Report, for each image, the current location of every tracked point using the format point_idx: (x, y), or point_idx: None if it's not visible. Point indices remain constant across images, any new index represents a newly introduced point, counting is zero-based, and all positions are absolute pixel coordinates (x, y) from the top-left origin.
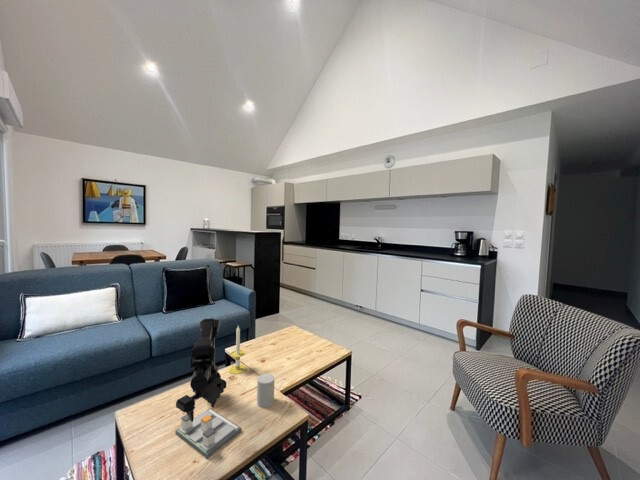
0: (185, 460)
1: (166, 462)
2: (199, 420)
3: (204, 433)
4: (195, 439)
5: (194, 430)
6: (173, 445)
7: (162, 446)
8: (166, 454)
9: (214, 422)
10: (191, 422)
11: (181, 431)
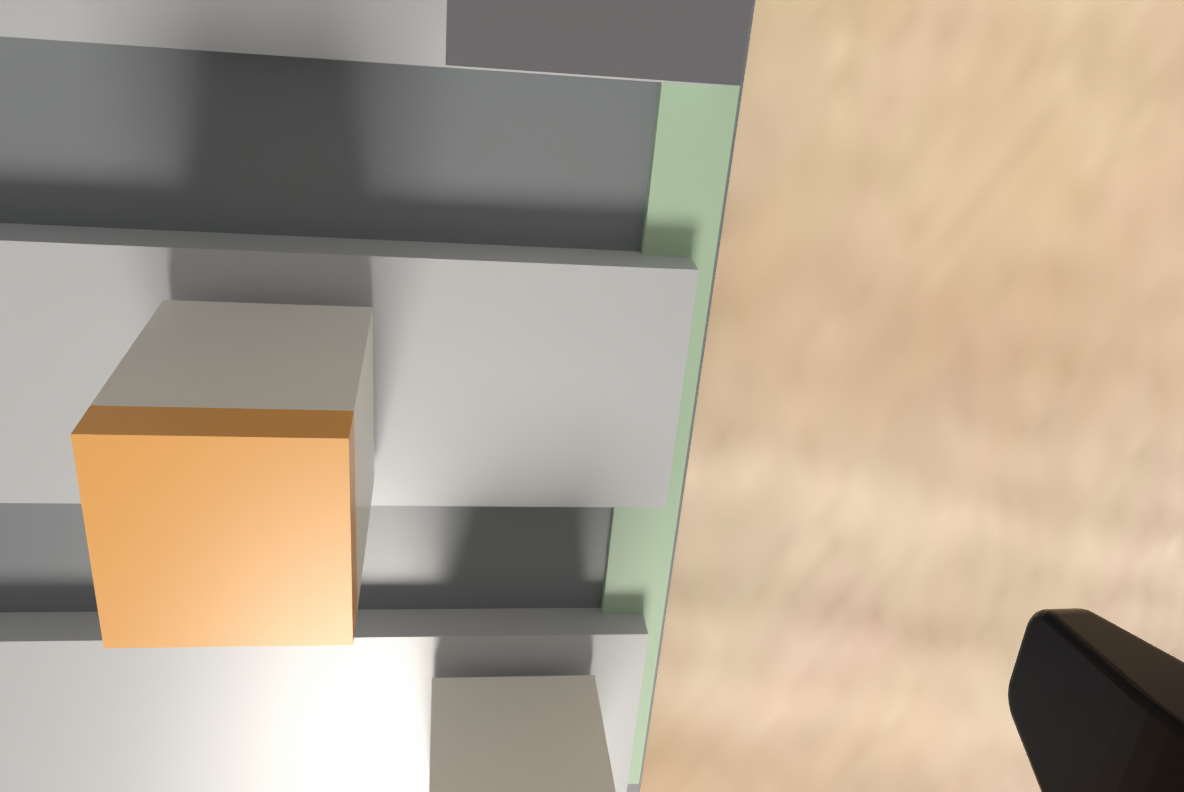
0: (982, 102)
1: (1118, 360)
2: (234, 699)
3: (737, 5)
4: (651, 311)
5: (450, 563)
6: (814, 575)
7: (898, 680)
8: (993, 502)
9: (13, 391)
10: (460, 746)
11: (637, 708)
